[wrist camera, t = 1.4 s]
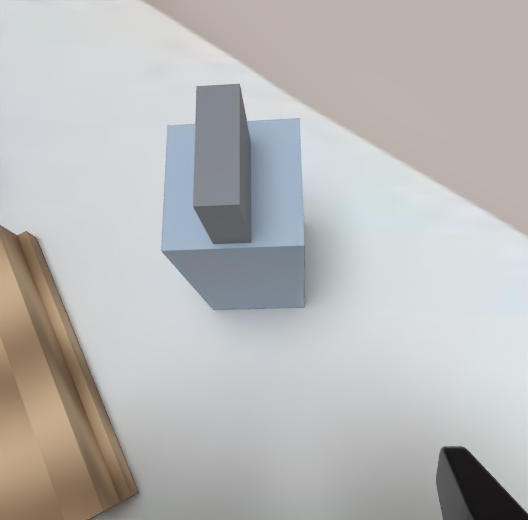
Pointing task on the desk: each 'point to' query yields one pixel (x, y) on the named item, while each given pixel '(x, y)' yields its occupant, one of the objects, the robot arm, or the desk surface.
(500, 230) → the desk surface
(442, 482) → the robot arm
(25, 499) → the cradle
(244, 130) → the box with grey fin
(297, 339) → the desk surface
